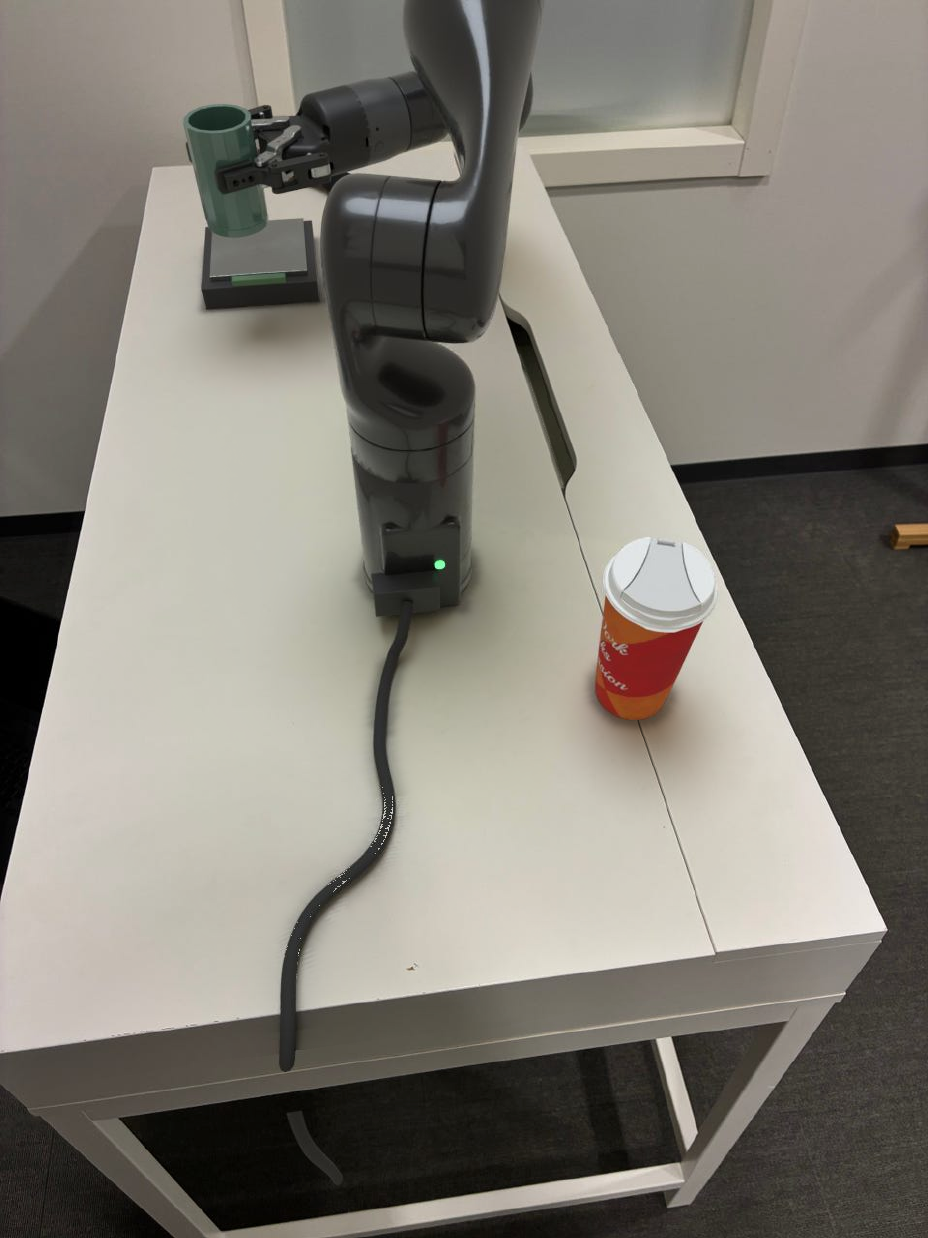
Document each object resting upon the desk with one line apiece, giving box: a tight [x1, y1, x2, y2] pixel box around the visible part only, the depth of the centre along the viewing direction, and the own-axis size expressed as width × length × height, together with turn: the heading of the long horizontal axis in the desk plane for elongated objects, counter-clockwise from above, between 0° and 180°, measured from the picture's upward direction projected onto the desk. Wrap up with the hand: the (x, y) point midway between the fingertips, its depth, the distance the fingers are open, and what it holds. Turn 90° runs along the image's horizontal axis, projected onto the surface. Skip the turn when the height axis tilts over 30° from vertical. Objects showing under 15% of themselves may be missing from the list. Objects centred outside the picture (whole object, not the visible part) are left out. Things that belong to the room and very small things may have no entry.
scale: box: [200, 217, 321, 310], centre depth 105 cm, size 14×13×3 cm
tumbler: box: [182, 103, 270, 238], centre depth 86 cm, size 6×6×10 cm
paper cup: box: [594, 536, 719, 721], centre depth 64 cm, size 8×8×14 cm
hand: (203, 167), depth 84 cm, fingers closed on tumbler, 6 cm apart
